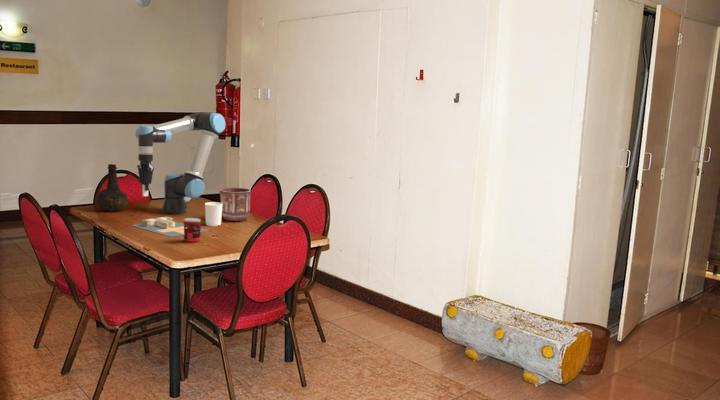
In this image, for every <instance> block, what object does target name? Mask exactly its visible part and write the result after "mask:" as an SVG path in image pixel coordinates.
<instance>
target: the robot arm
mask: <svg viewBox="0 0 720 400" xmlns="http://www.w3.org/2000/svg"><path fill="white" fill-rule="evenodd" d="M138 126H139V127H138V128H137V129H136V130H135V137H136V138H137V140H138V156H137V157H138V161H139V165H136V166H137V167H136V168H137V172H138V179H139V183H141V185H142V186H141V187H142V188H141V189H142V197H149V185H150V184H152V180H153V175H154V170H155V167H154V166H152V162H153V160H154V159H153V157H154V155H153V154H154V144H155V143H156V144H158V143H161V144H162V143H164V144H166V143H169V142H171V140H172V139H173V137H172V135H174V134H178V133H183V132H185V131H187V132H192V131H199V133H200V134H199V137H198V142H197V144H196V146H195V147H196V148H195V151H194V152H193V156H192V158H191V161H190V163H189V168H188V170H186V171H185V172H184V173H176V174H175V173H174V174H166V175H165V176H164V181H163V183H164V199H163V203H162V206H161V212H162V213H164V214H183V213H187V212H188V206H187V202H186V203H185V199H184V197H188V198H191V199H198V198H199V197H201V196H202V195H203V193H204V192H205V189H206V186H205V182H204V177H203V174H204V171H205V167H206V164H207V162H208V159H209V156H210V154H211V149H212V147H213V145H214V144H213V143H214V141H215V139H218V137H219V135H220V134H221V133H223V132H224V131H225V129H226V126H227V125H226V120H225V118H224V116H223V115H222V114H221V113H216V112H206V111H205V112H204V111H201V112H200V111H199V112H196V113H191V114H188V115H184V117H182V118H179V119H176V120H170V121H168V122H167V121H166V122H163V123H162V122H161V123H159V124H155V125H143V124H141V125H138Z"/></svg>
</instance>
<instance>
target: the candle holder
mask: <svg viewBox="0 0 720 400" xmlns="http://www.w3.org/2000/svg"><path fill="white" fill-rule="evenodd" d="M222 206H223V204H222V203H221V202H218V201H217V202H216V201H212V202H211V201H209V202H205V203H204V210H205V211H204V215H205V225H206V226H208V227H217V226H218V225H219V226H221V225H222V219H223V217H222Z"/></svg>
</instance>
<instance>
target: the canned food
mask: <svg viewBox="0 0 720 400" xmlns="http://www.w3.org/2000/svg"><path fill="white" fill-rule="evenodd" d="M183 224H184V235H183V241H184V242H185V243H189V244H190V243H193V244H194V243H199V242H200V241H201V236H202V235H201V233H202V232H201V226H202V224H201V219H200V218H197V217H187V218H184V220H183Z"/></svg>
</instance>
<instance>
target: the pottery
mask: <svg viewBox="0 0 720 400" xmlns="http://www.w3.org/2000/svg"><path fill="white" fill-rule="evenodd" d="M251 195H252V190H251V189H249V188H244V187H224V188H220V189H219V197H220V198H219V199H220V203H222V204H223V206H222V219H224V220H225V221H226V222H230V221H235V222H234V223H237V222H236V221H241V222H245V221H246V220H247V219H248V217H249V216H250V211H251Z"/></svg>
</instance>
